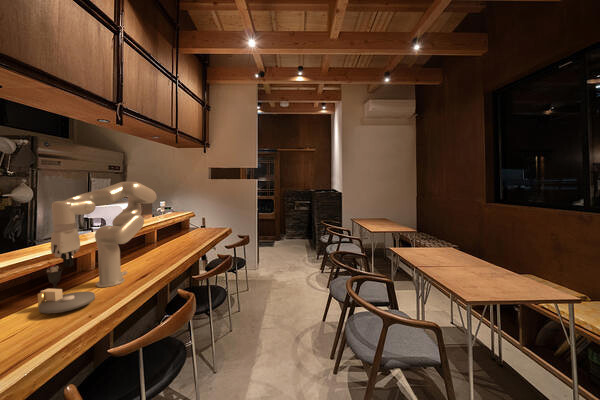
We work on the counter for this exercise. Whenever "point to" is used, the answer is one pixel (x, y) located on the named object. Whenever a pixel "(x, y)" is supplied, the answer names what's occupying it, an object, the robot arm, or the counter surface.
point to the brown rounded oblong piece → (43, 300)
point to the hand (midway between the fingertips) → (68, 266)
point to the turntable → (64, 300)
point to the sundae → (54, 275)
